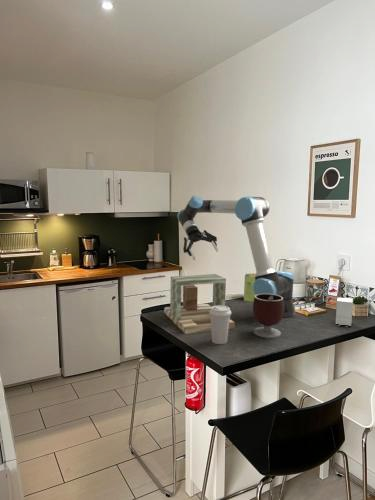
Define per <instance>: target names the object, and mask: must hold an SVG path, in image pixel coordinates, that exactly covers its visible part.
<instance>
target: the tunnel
mask: <svg viewBox="0 0 375 500" xmlns="http://www.w3.org/2000/svg"><path fill="white" fill-rule="evenodd" d="M226 281H227V279H226V278H225V277H223V276H221V275H219V274H217V273H216V274H215V273H213V274H196V275H180V276H179V275H178V276H170V305H169V306H166V307H164V308H163V310H164V311H163V313H164V314H165V315H166V316H167V317H168V318H169V319H170V320H171V321H172V322H173V324H175V325H176V327H178V328H179V329H180V330H181V331H182V332H183V333H184V334H185V335H188V334H197V333H198V334H199V333H204V332H205V333H206V332H211V316H210V313H209V311H210V309H211V307H212V306H218V305H220V306H226V293H227V292H226V286H227V283H226ZM210 284H212V289H213V290H212V306H211V305H210V304H208V303H201V304H198V303H197V310H185V309H184V308H183V305H182V287H183V286H186V285H194V286H196V285H210ZM235 324H236V322H235V321H233V320H232V319H230V321H229V329H228V330H233V329H235Z"/></svg>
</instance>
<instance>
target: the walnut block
mask: <svg viewBox="0 0 375 500" xmlns="http://www.w3.org/2000/svg"><path fill="white" fill-rule="evenodd" d="M198 293H199V290H198V286H196V285H183V286H182V306H183V308H184V309H185V310H197V305H198Z"/></svg>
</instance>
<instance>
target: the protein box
mask: <svg viewBox="0 0 375 500" xmlns="http://www.w3.org/2000/svg"><path fill="white" fill-rule="evenodd" d="M255 274H256V273H245V275H244V285H243V286H244V287H243V288H244V289H243V302H252V303H253V302H254V298H255V293H254V291H253V284H254V282H255V277H254V276H255Z"/></svg>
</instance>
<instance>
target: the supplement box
mask: <svg viewBox="0 0 375 500" xmlns="http://www.w3.org/2000/svg"><path fill="white" fill-rule="evenodd" d="M353 307H354V298H349V297H346V298H345V297H337V300H336V312H335V325H336V324H339V325H338V326H340V325H349V326H351V327H352V323H353V322H352V321H353V318H352V317H353Z"/></svg>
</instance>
